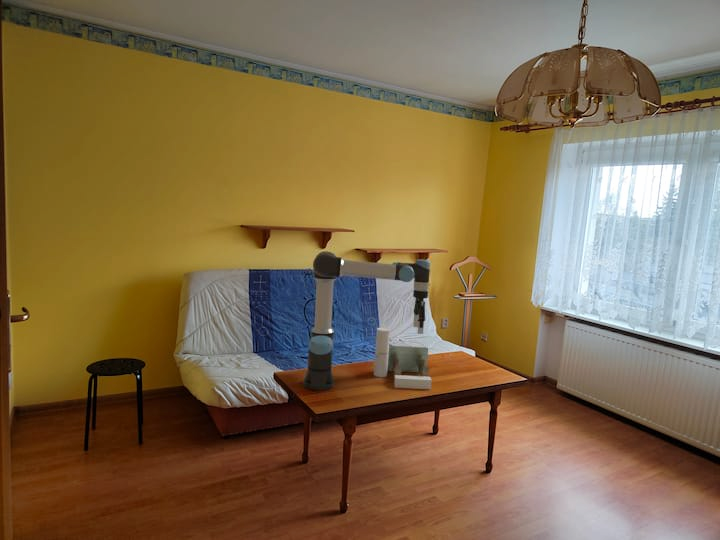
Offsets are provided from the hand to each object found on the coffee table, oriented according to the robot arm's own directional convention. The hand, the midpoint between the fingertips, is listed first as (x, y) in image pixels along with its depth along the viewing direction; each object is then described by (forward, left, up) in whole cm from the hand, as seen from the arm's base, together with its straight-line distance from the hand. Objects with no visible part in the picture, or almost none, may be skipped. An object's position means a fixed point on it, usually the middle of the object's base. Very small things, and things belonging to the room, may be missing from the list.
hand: (418, 330), depth 240 cm
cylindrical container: (-17, +6, -27) cm, 33 cm away
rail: (-2, -9, -27) cm, 29 cm away
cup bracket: (-2, +5, -27) cm, 27 cm away
